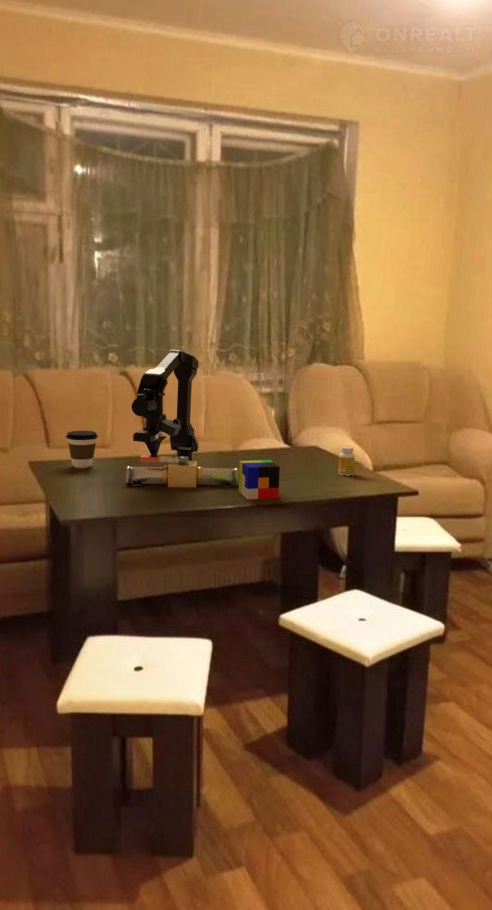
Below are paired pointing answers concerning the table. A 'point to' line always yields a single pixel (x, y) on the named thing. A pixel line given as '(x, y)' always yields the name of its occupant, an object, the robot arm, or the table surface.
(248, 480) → the puzzle toy
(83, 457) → the coffee cup
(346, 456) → the supplement bottle
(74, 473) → the table surface
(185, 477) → the valve
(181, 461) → the lever
